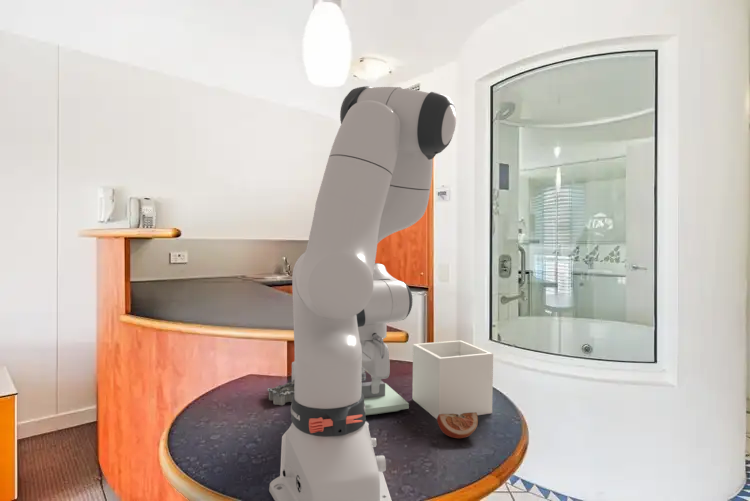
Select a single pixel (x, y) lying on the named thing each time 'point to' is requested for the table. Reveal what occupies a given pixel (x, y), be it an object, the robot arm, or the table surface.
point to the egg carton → (281, 393)
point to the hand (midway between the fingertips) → (367, 386)
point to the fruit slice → (458, 424)
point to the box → (452, 378)
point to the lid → (382, 399)
